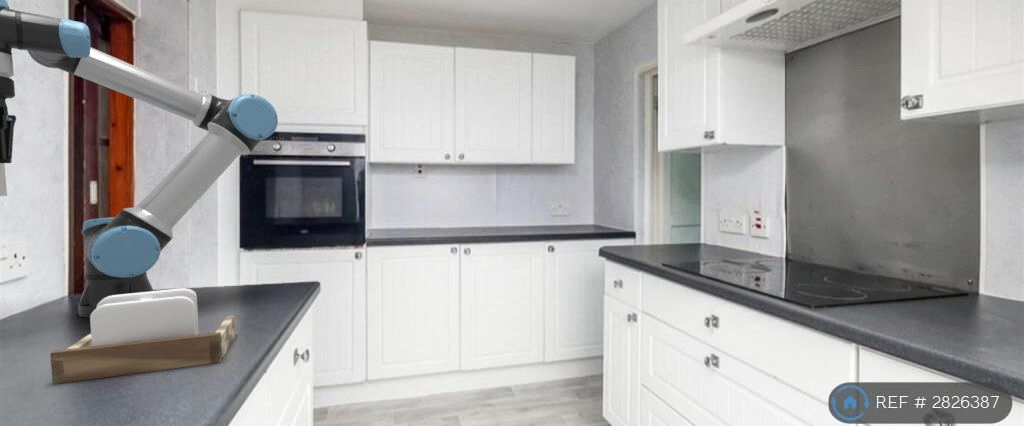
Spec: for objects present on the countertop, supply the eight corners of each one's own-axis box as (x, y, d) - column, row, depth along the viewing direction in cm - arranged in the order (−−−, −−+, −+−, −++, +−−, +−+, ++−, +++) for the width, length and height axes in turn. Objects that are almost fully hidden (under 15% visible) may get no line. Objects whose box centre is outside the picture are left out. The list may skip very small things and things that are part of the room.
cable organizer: (86, 377, 78) (81, 308, 77) (102, 357, 87) (98, 294, 86) (196, 360, 85) (192, 296, 84) (200, 342, 94) (197, 285, 93)
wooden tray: (97, 349, 90) (96, 324, 90) (235, 334, 99) (234, 311, 99) (52, 384, 75) (50, 353, 75) (220, 362, 84) (218, 334, 83)
